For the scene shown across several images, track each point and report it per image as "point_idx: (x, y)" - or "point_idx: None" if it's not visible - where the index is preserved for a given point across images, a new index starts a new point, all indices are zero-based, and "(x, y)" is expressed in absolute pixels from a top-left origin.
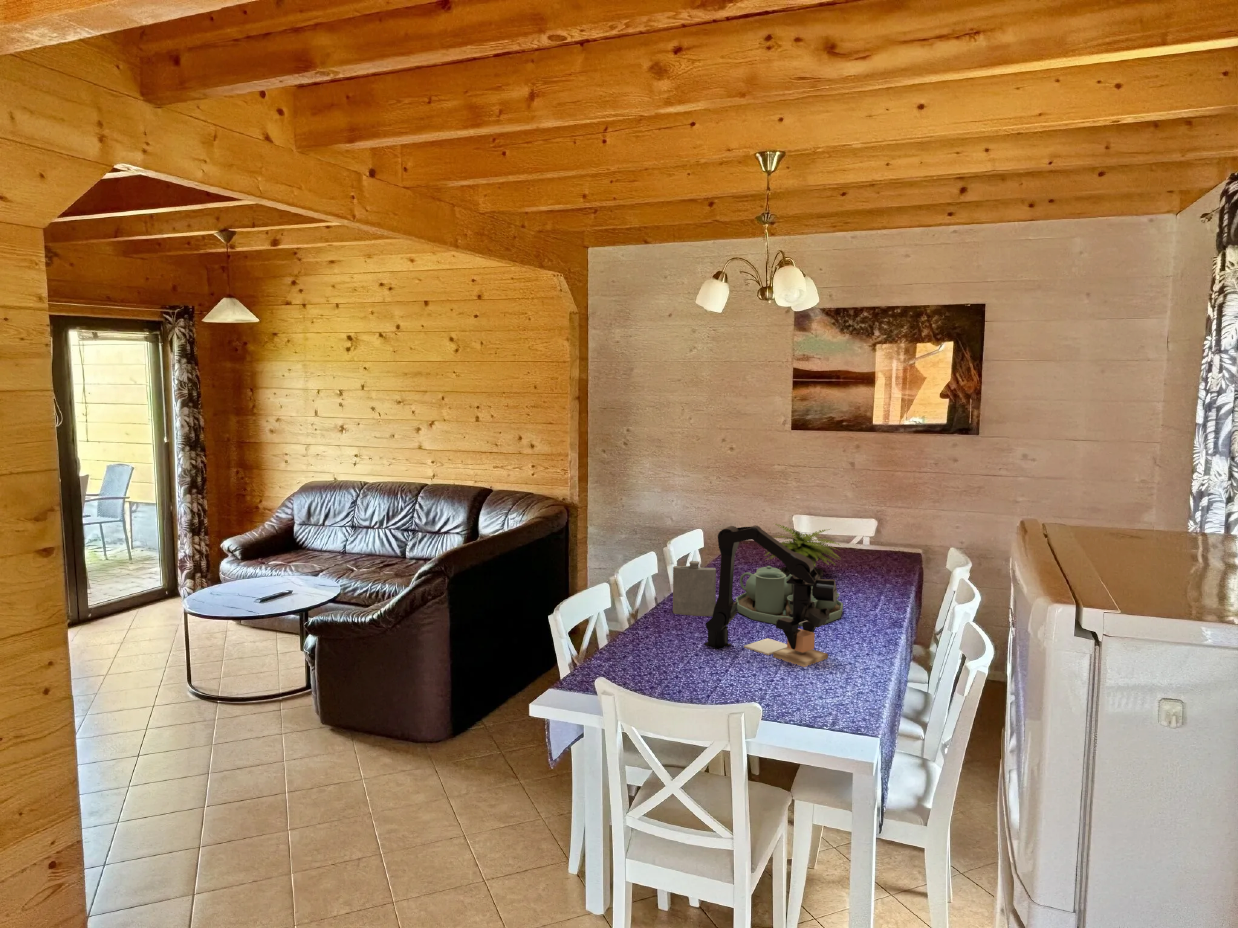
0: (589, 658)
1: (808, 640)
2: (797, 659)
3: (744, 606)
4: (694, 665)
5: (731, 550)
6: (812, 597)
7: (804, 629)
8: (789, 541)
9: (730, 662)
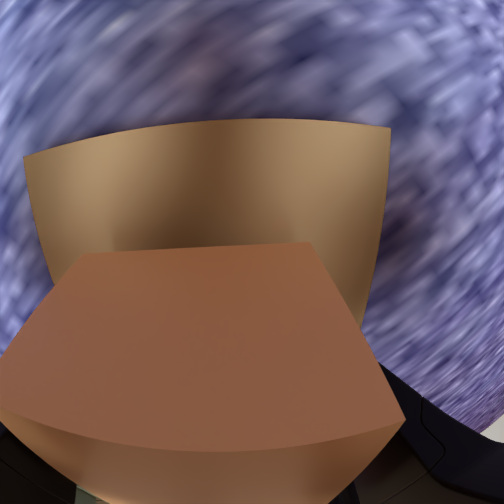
0: (486, 428)
1: (169, 341)
2: (370, 218)
3: (102, 501)
4: (497, 379)
5: None
6: None
7: (68, 481)
8: None
9: (464, 374)
